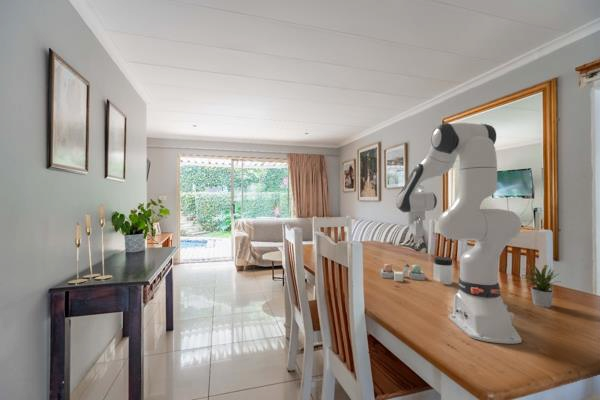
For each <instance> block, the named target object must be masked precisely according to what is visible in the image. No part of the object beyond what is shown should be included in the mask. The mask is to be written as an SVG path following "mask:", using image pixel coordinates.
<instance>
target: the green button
mask: <svg viewBox="0 0 600 400" xmlns="http://www.w3.org/2000/svg"><path fill="white" fill-rule="evenodd" d="M411 270H412V273H414V274H420V271H421V265H420V264H412V266H411Z"/></svg>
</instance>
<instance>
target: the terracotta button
mask: <svg viewBox="0 0 600 400" xmlns="http://www.w3.org/2000/svg"><path fill="white" fill-rule="evenodd" d="M383 269H384V272H392V270H393V264H392V263H384V264H383Z"/></svg>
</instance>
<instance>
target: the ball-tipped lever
mask: <svg viewBox="0 0 600 400" xmlns="http://www.w3.org/2000/svg"><path fill="white" fill-rule="evenodd" d="M409 267H410V265H409V264H408V263H405V266H404V268H403V269H402V271H401V272H402V273H403V278H404V277H405V275H406V273H407V272H408V270H409Z"/></svg>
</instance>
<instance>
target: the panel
mask: <svg viewBox="0 0 600 400" xmlns="http://www.w3.org/2000/svg"><path fill="white" fill-rule="evenodd" d="M394 271H395V269H392V272H384V268H382V269H380V276H381V277H380V278H382V279H394ZM395 272H396V271H395ZM425 274H426V273H424V272H423V270H420V274H414V273H412V269H411V270H410V269H407V276H408V278H409V279H410V280H416V281H417V280H419V281H425V280H426V275H425Z"/></svg>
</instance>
